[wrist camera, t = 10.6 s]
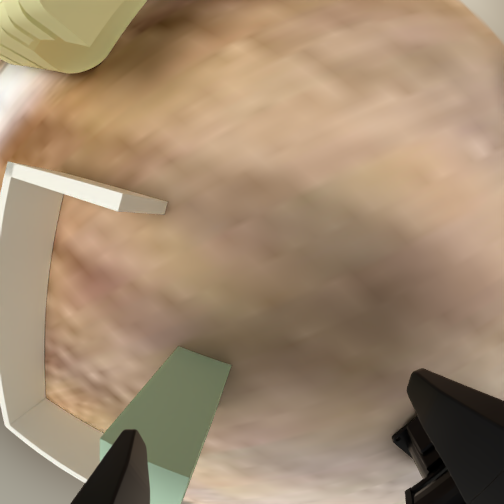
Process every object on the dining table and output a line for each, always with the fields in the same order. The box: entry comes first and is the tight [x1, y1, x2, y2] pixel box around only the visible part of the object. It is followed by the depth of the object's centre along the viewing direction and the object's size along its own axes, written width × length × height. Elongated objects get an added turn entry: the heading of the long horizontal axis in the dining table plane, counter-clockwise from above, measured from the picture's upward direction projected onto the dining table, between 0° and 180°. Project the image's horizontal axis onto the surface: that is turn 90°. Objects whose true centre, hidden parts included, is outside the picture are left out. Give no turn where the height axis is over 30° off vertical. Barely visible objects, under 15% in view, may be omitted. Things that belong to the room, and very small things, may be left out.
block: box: [100, 346, 231, 504], centre depth 17 cm, size 4×4×12 cm
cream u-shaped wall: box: [0, 162, 168, 483], centre depth 20 cm, size 12×26×7 cm, turn 163°
